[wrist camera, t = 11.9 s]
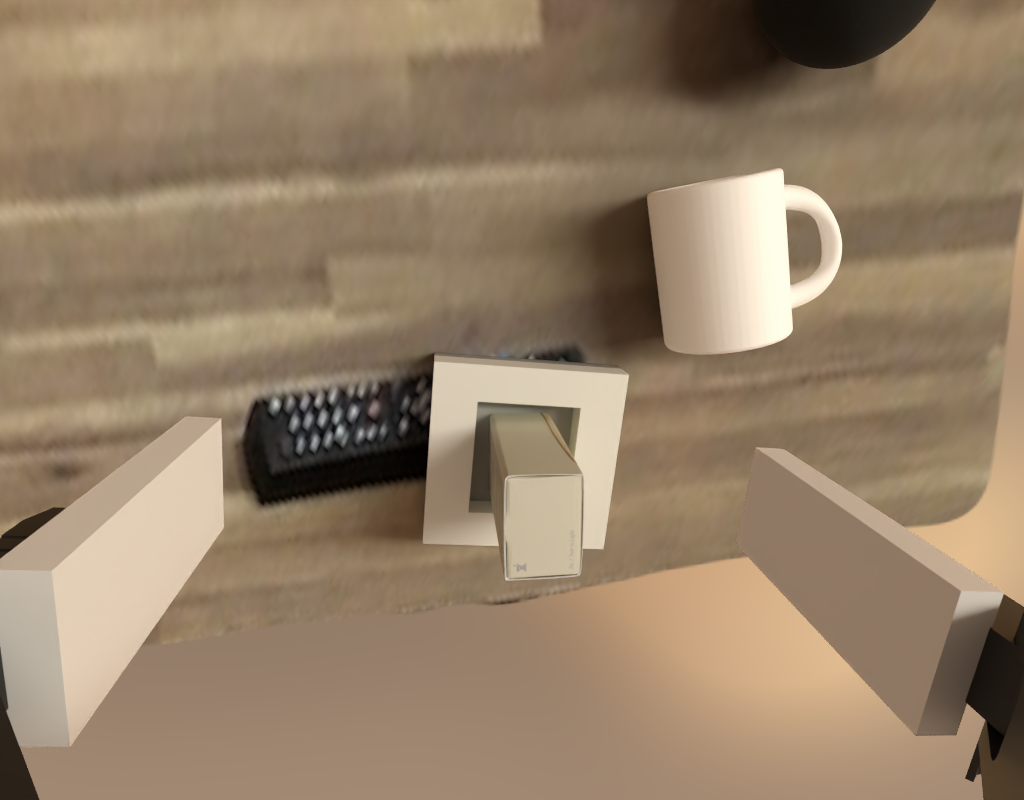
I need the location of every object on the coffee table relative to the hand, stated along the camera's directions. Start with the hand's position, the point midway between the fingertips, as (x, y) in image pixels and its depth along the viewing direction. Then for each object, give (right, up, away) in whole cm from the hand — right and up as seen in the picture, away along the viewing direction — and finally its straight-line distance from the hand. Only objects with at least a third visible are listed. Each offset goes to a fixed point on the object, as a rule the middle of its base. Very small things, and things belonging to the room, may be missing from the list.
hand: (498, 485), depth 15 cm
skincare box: (+1, -1, +30) cm, 30 cm away
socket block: (+1, -1, +30) cm, 30 cm away
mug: (+15, +12, +29) cm, 35 cm away
